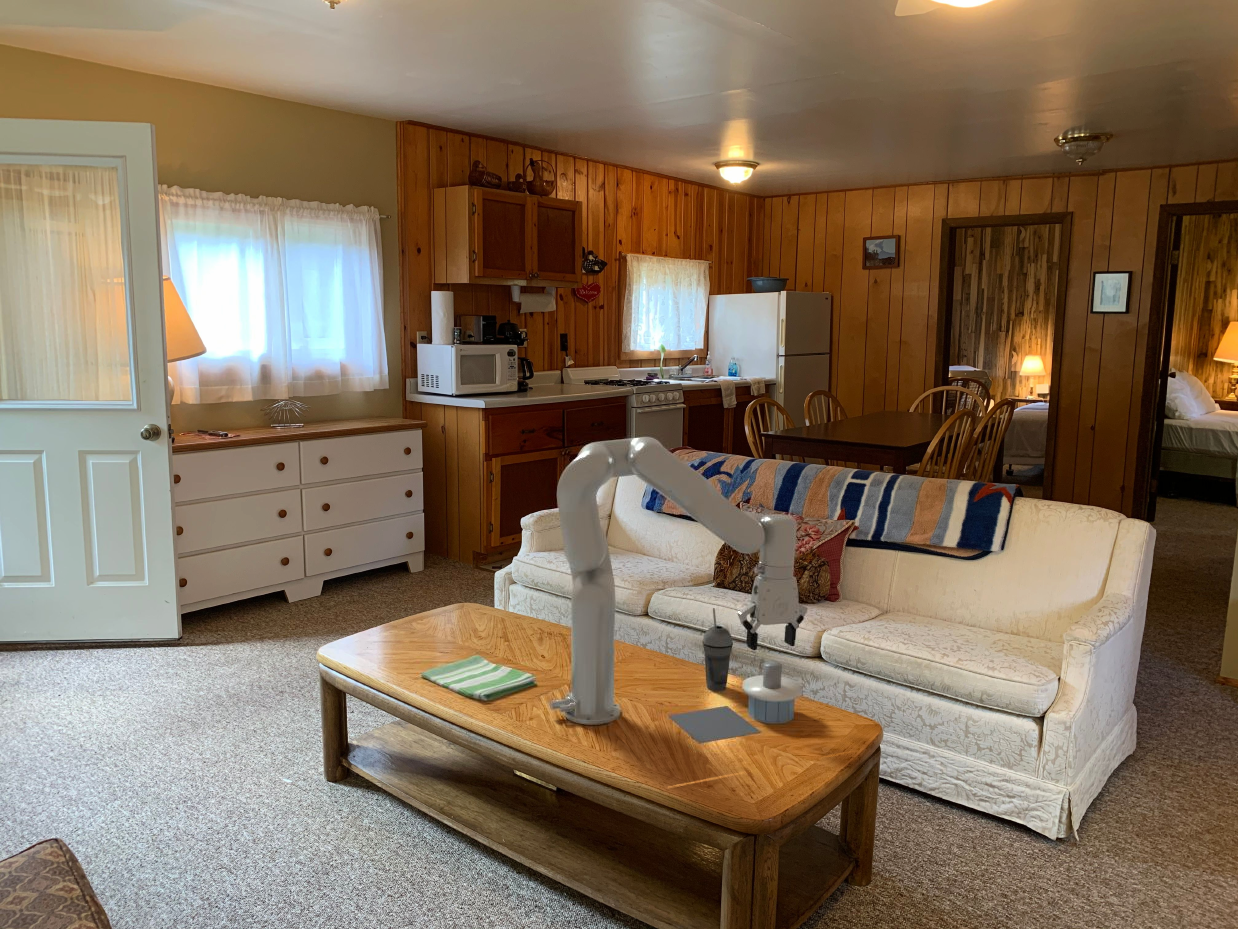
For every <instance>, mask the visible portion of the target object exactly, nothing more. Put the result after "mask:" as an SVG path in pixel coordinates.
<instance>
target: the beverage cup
mask: <svg viewBox="0 0 1238 929" xmlns="http://www.w3.org/2000/svg"><path fill="white" fill-rule="evenodd" d="M712 616H713V617H712V618H713V626H711V627H709V628H708V629H707V630H706V631H705V633H704V634H703V640H702V647H703V652H704V663H705V664H704V665H705V667H704V668H705V669H704V670H705V682H706V689H707V690H709V691H710V692H723V691H726V689H727V684H728V676H729V668H730V659H731V653H732V649H733V646H734V643H733V642H734V641H733V637H732V635H731V633H730V631H729V630H728V629H727V628H726V627H724V626H721V625H717V619H716V618H717V617H716V608H714V607H713V608H712Z"/></svg>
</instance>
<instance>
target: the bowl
mask: <svg viewBox="0 0 1238 929" xmlns="http://www.w3.org/2000/svg"><path fill="white" fill-rule="evenodd" d="M795 700H796V699H794V700H790V701H782V702H773V701H764V700H760V699H756V698H753V697H751V696H749V695H748V707H747V708H748V709H747V710H748V712H747V714H748V716H749V717H750V718H751V719H753V720H756V721H757V722H761V723H763V724H764V723H765V724H771V725H772V724H774V725H776V724H785V723H788V722H791V721H792V720H793V719H794V716H795V704H796V703H795Z"/></svg>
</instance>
